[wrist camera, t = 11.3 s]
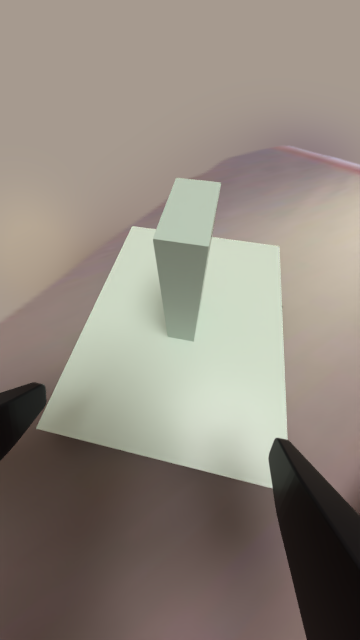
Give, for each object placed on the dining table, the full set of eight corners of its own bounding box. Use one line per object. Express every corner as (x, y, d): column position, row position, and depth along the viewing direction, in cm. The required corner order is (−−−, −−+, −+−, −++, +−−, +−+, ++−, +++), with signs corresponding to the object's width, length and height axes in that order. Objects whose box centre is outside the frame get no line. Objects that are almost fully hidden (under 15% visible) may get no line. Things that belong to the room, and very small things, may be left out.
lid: (52, 427, 14) (-245, 441, 4) (135, 240, 22) (102, 104, 13) (275, 483, 12) (614, 704, 3) (272, 259, 21) (348, 122, 11)
